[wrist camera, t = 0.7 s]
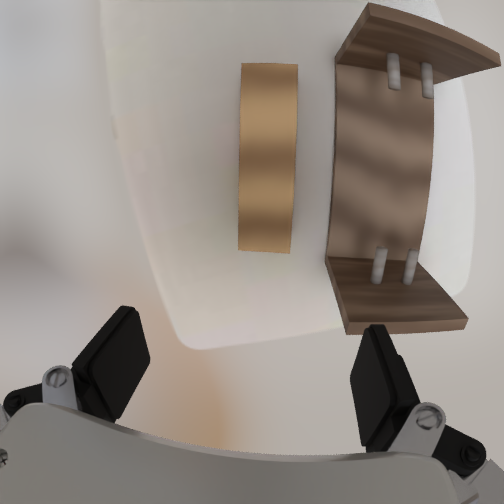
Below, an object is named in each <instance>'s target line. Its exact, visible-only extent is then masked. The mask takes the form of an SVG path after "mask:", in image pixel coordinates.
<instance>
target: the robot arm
mask: <svg viewBox="0 0 504 504" xmlns="http://www.w3.org/2000/svg"><path fill="white" fill-rule="evenodd" d="M149 364H150V355H149V351H148V348H147V344H146V340H145V336H144V332H143V328H142V324H141V320H140V316H139V313H138V311H136V310H135V308H134V307H129V306H120V307H119V308H118V310H117V311H116V312H115V313H114V314H113V315H112V317H111V318H110V319H109V320H108V321H107V322H106V323H105V324H104V326H103V327H102V328H101V329H100V330H99V331H98V333H97V334H96V335H95V336H94V337H93V339H92V340H91V341H90V342H89V343H88V345H87V346H86V347H85V348H84V349H83V351H82V352H81V353H80V355H78V357H77V358H76V359H75V361H74V362H73V363H72V366H73V367H72V368H71V369H69V368H68V367H66V366H61V365H60V366H55V367H52V368H50V369H49V370H48V371H46V373H45V374H44V376H43V379H42V383H41V384H37V385H33V386H29V387H26V388H22V389H18V390H14V391H12V392H10V393H9V394H8V395H7V396H6V397H5V400H4V403H3V406H2V405H1V404H0V504H504V471H503V470H502V469H501V468H499V466H498V465H497V464H495V462H493V461H492V460H491V459H490V460H489V461H487V460H486V450H485V447H484V446H483V444H482V443H480V442H479V441H478V440H476V439H474V438H471V437H469V436H467V435H465V434H463V433H461V432H459V431H457V430H455V429H454V428H451V427H449V426H448V425H446V424H445V423H446V416H445V413H444V411H443V410H442V409H441V408H440V407H439V406H437V405H436V404H433V403H429V402H428V403H427V402H424V403H421V402H420V400H419V397H418V395H417V392H416V389H415V387H414V384H413V382H412V379H411V377H410V374H409V372H408V370H407V367H406V365H405V362H404V360H403V358H402V356H401V355H398V354H397V352H396V349H395V347H394V345H393V342H392V340H391V338H390V336H389V333H388V331H387V329H386V327H385V325H384V324H371V325H370V326H369V328H365V330H364V333H363V336H362V340H361V343H360V347H359V350H358V353H357V357H356V359H355V363H354V366H353V369H352V371H351V375H350V384H351V389H352V394H353V399H354V404H355V410H356V415H357V421H358V427H359V434H360V440H361V445H362V446H365V447H366V453H356V454H340V455H275V454H260V453H248V452H239V451H230V450H223V449H216V448H210V447H204V446H198V445H193V444H188V443H183V442H179V441H174V440H170V439H166V438H162V437H158V436H154V435H150V434H147V433H143V432H140V431H136V430H133V429H130V428H127V427H124V426H121V425H118V424H115V421H116V419H119V418H120V417H121V415H122V413H123V412H124V410H125V408H126V406H127V404H128V402H129V400H130V398H131V396H132V395H133V393H134V391H135V389H136V387H137V385H138V384H139V382H140V380H141V378H142V377H143V375H144V373H145V371H146V369H147V367H148V366H149Z"/></svg>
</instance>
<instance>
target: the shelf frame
mask: <svg viewBox="0 0 504 504" xmlns="http://www.w3.org/2000/svg"><path fill="white" fill-rule="evenodd" d="M499 66H501V62H500V56H499V53H497V52H495V51H494V50H492V49H490V48H488V47H487V46H485V45H483V44H481V43H479V42H477V41H475V40H473V39H471V38H469V37H467V36H465V35H463V34H461V33H459V32H457V31H455V30H452V29H450V28H448V27H445V26H443V25H440V24H438V23H435V22H433V21H430V20H427V19H425V18H422V17H419V16H416V15H413V14H410V13H407V12H404V11H400V10H397V9H393V8H390V7H386V6H382V5H378V4H373V3H369V2H368V4H367V5H366V7H365V9H364V10H363V12H362V13H361V15H360V17H359V18H358V20H357V21H356V23H355V25H354V26H353V28H352V30H351V31H350V33H349V35H348V36H347V38H346V40H345V41H344V43H343V44H342V46H341V48H340V49H339V51H338V53H337V55H336V56H335V80H336V112H335V148H334V168H333V184H332V198H331V210H330V221H329V231H328V240H327V249H326V258H325V264H326V267H327V270H328V274H329V277H330V280H331V283H332V287H333V290H334V293H335V297H336V300H337V303H338V307H339V310H340V314H341V317H342V321H343V325H344V328H345V332H346V335H363V333H364V330H365V328H369V326H370V325H371V324H384V325H385V327H386V329H387V331H388V333H389V334H408V333H426V332H440V331H452V330H462V329H464V328H465V326H466V324H467V321H468V317H467V316H466V315H465V313H464V312H463V311H462V310H461V309H460V308H459V306H458V305H457V304H456V303H455V302H454V301H453V299H452V298H451V297H450V296H449V295H448V294H447V293H446V291H445V290H444V289H443V288H442V287H441V286H440V285H439V284H438V283H437V282H436V281H435V279H434V278H433V277H432V276H431V275H430V274H429V273H428V272H427V271H426V270H425V269H424V268H423V267H422V266H421V265H420V264H419V263H418V262H417V260H418V255H419V250H420V245H421V240H422V235H423V229H424V224H425V218H426V212H427V205H428V198H429V190H430V181H431V170H432V158H433V139H434V89H433V85H434V84H437V83H441V82H444V81H447V80H450V79H454V78H457V77H460V76H464V75H468V74H471V73H475V72H479V71H483V70H486V69H490V68H495V67H499Z"/></svg>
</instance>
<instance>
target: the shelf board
mask: <svg viewBox="0 0 504 504" xmlns="http://www.w3.org/2000/svg"><path fill="white" fill-rule="evenodd" d="M297 89H298V64H279V63H242V67H241V103H240V149H239V223H238V250H242V251H259V252H275V253H290V244H291V230H292V215H293V198H294V180H295V158H296V132H297Z"/></svg>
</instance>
